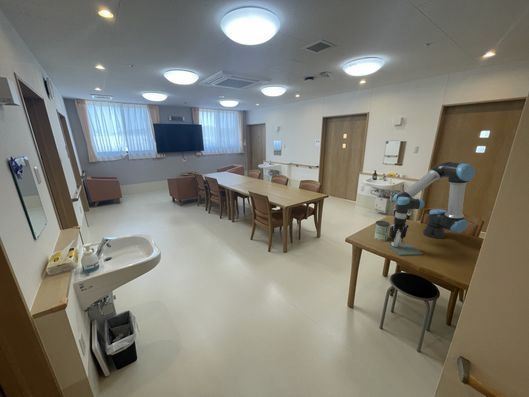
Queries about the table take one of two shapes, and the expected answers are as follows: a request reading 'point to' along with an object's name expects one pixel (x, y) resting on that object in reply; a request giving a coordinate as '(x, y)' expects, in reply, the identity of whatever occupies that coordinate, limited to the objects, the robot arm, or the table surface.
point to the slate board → (405, 250)
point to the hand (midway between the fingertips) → (395, 245)
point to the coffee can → (381, 230)
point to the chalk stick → (397, 239)
